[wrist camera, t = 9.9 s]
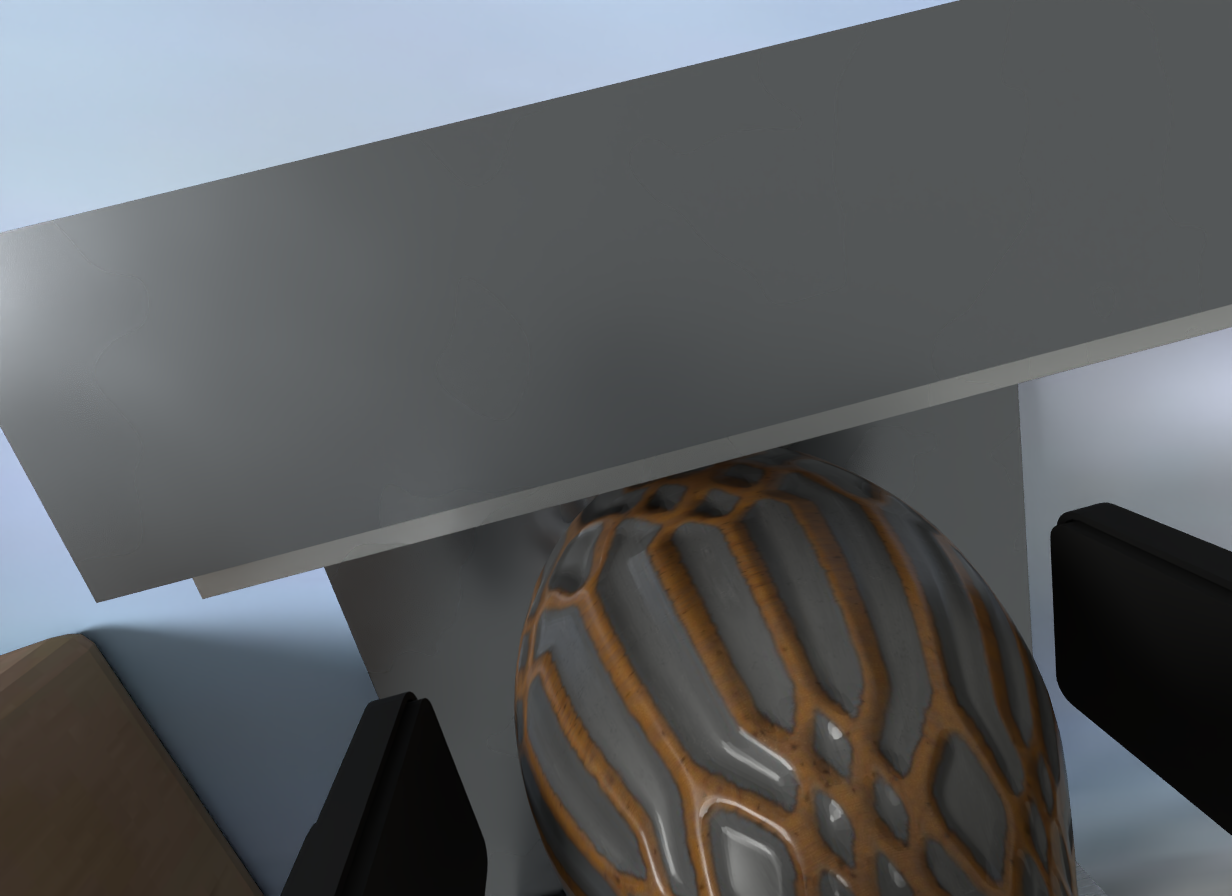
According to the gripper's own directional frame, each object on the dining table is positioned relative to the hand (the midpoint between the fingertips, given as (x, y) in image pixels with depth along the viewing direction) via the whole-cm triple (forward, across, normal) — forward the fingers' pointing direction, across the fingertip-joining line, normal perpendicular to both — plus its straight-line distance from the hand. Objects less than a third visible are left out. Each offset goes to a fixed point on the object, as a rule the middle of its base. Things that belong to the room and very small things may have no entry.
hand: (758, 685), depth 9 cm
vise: (+5, 0, +2) cm, 6 cm away
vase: (+4, 0, 0) cm, 4 cm away
